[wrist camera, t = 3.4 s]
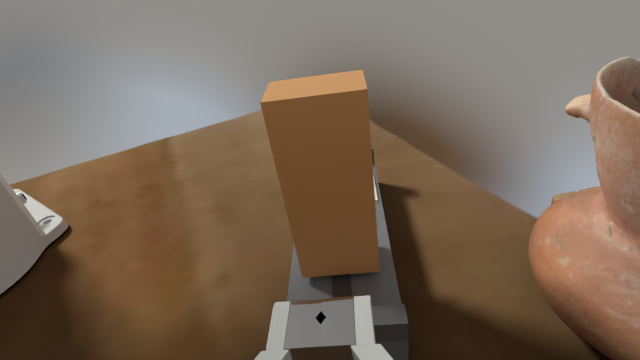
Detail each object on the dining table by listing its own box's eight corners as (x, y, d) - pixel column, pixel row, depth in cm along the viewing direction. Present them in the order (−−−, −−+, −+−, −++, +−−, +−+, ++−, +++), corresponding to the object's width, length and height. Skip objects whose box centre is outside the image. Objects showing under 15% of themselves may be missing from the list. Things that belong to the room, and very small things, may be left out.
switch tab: (380, 271, 23) (367, 88, 16) (302, 277, 23) (260, 102, 17) (375, 239, 25) (362, 69, 19) (305, 245, 26) (269, 82, 19)
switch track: (408, 371, 21) (408, 323, 19) (290, 376, 22) (275, 331, 19) (374, 181, 38) (372, 143, 35) (308, 188, 38) (301, 151, 36)
